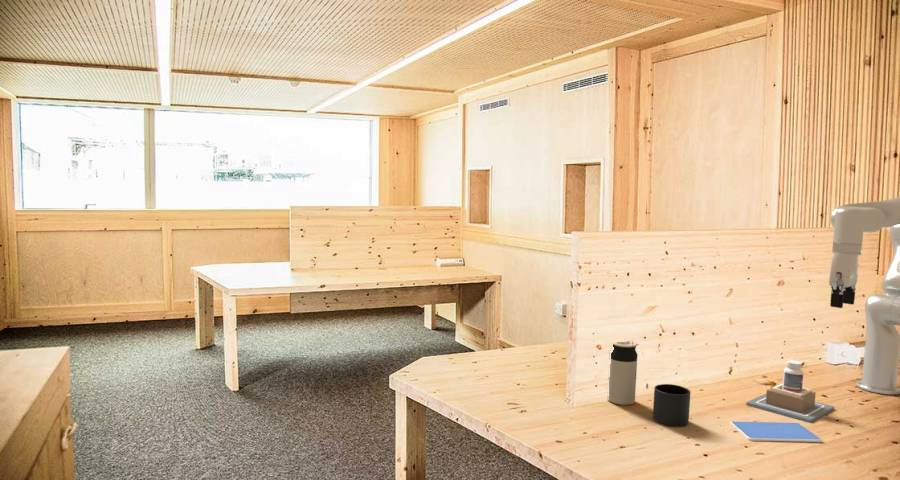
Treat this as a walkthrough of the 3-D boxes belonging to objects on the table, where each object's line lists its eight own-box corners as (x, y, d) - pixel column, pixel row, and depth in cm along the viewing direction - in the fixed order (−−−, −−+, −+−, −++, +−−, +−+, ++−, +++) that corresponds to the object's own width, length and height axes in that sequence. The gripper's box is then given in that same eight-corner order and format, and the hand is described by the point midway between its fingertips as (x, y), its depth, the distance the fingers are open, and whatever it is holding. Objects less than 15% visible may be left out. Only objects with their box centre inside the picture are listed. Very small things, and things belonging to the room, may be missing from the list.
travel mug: (605, 403, 195) (608, 343, 193) (609, 395, 202) (612, 338, 201) (633, 407, 192) (636, 347, 190) (636, 399, 199) (639, 341, 198)
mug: (678, 412, 189) (680, 381, 188) (693, 427, 177) (695, 395, 176) (645, 411, 189) (647, 380, 188) (659, 427, 177) (660, 394, 176)
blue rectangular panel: (748, 442, 169) (749, 437, 169) (728, 424, 182) (728, 420, 182) (823, 445, 169) (824, 440, 169) (798, 426, 182) (798, 422, 181)
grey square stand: (772, 393, 209) (773, 375, 208) (834, 409, 195) (835, 390, 195) (746, 404, 197) (747, 386, 196) (810, 422, 183) (812, 403, 183)
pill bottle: (804, 394, 193) (806, 365, 192) (785, 393, 194) (787, 363, 193) (798, 389, 198) (800, 360, 197) (779, 387, 199) (782, 359, 198)
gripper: (843, 246, 205) (838, 300, 206) (822, 249, 193) (817, 306, 195) (870, 248, 199) (865, 304, 201) (850, 252, 188) (845, 310, 189)
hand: (842, 305), depth 198 cm, fingers open, 9 cm apart
